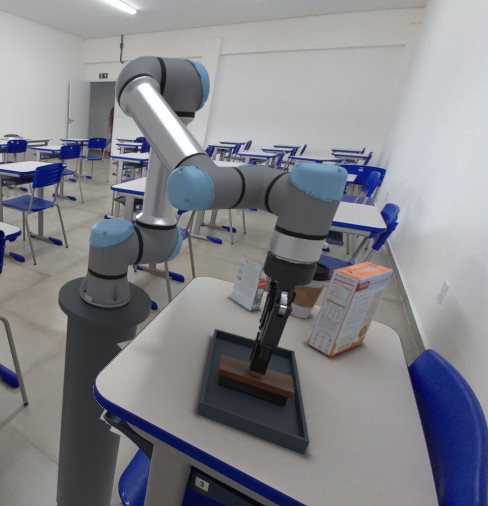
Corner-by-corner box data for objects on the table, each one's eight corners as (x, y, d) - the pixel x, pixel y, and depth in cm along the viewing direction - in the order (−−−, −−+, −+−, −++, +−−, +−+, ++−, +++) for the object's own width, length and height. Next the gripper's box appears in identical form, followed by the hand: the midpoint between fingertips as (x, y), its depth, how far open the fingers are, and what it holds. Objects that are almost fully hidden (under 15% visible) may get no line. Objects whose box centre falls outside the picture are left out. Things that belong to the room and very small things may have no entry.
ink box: (238, 296, 110) (250, 253, 104) (259, 309, 103) (273, 264, 97) (229, 298, 108) (240, 254, 103) (250, 311, 101) (263, 265, 96)
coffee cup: (321, 319, 100) (339, 271, 94) (297, 322, 98) (314, 273, 92) (296, 303, 107) (312, 258, 101) (273, 306, 105) (288, 260, 99)
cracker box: (337, 331, 94) (366, 260, 86) (362, 344, 89) (396, 270, 81) (304, 343, 88) (333, 267, 80) (330, 358, 83) (362, 279, 75)
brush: (217, 369, 76) (232, 313, 71) (286, 391, 71) (308, 333, 65) (215, 384, 72) (231, 326, 66) (288, 409, 67) (311, 348, 61)
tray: (212, 337, 89) (214, 328, 88) (290, 360, 82) (294, 351, 81) (197, 413, 66) (200, 402, 65) (304, 454, 59) (309, 442, 58)
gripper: (325, 279, 52) (280, 400, 61) (312, 247, 65) (276, 350, 74) (269, 267, 55) (234, 384, 64) (267, 239, 68) (238, 339, 77)
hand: (257, 366), depth 69 cm, fingers closed on brush, 3 cm apart
